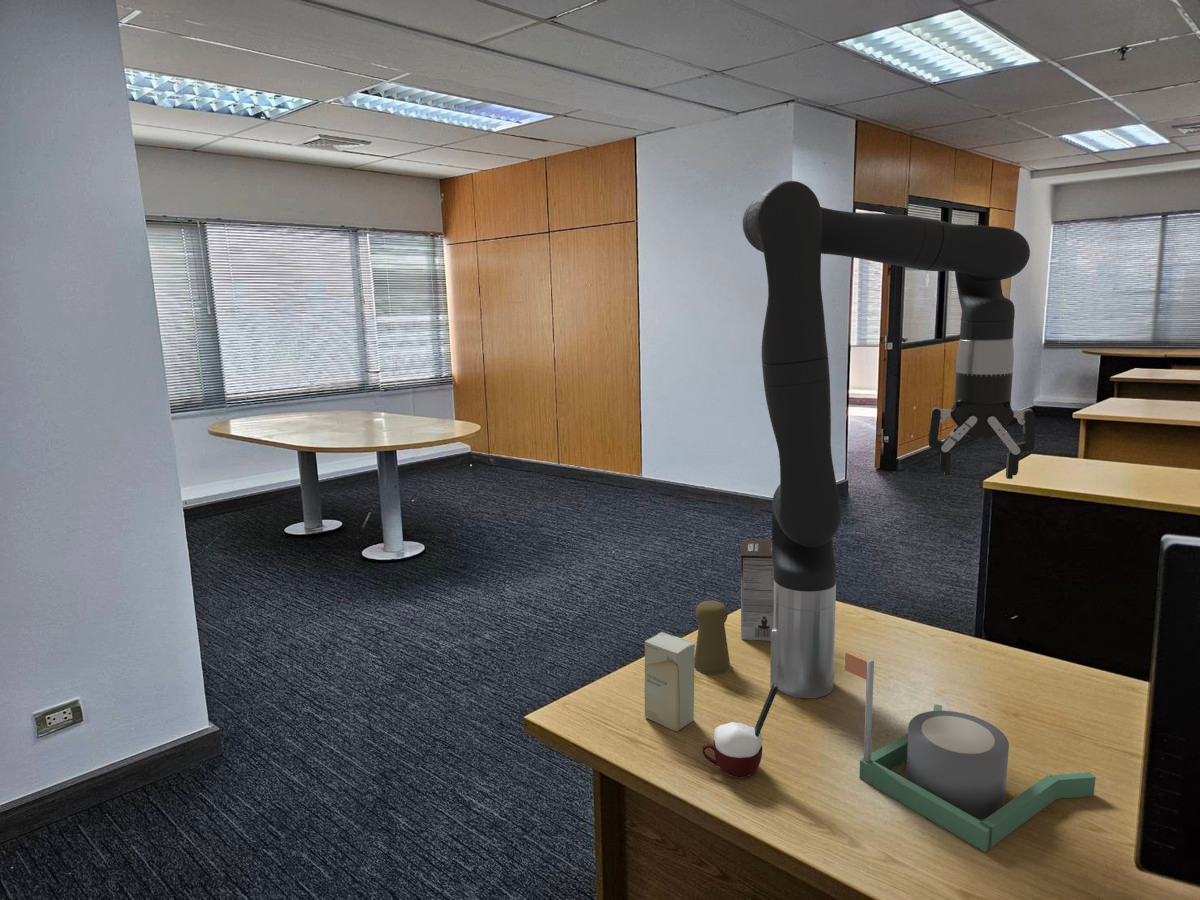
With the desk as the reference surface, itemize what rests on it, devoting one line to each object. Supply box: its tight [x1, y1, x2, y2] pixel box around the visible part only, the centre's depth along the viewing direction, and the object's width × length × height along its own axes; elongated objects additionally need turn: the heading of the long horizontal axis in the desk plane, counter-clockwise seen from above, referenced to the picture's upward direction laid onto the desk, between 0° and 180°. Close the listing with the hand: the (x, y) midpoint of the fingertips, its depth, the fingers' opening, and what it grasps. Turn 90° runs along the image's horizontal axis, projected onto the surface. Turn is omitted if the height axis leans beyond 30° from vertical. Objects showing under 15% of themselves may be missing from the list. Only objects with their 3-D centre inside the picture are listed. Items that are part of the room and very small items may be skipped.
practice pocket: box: [844, 651, 1096, 853], centre depth 94 cm, size 20×22×16 cm
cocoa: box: [701, 682, 779, 778], centre depth 98 cm, size 10×6×12 cm, turn 61°
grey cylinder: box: [905, 710, 1010, 820], centre depth 93 cm, size 11×11×8 cm
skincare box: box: [644, 631, 696, 732], centre depth 111 cm, size 6×4×12 cm
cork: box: [694, 600, 731, 675], centre depth 126 cm, size 6×6×11 cm
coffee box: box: [740, 539, 774, 642], centre depth 139 cm, size 9×6×16 cm
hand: (977, 476), depth 116 cm, fingers open, 8 cm apart
